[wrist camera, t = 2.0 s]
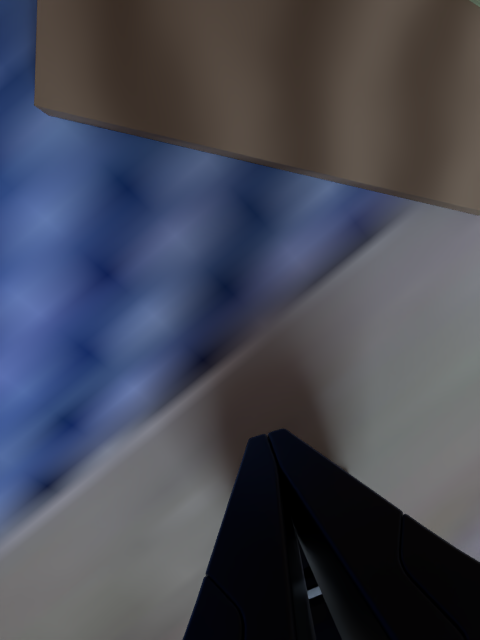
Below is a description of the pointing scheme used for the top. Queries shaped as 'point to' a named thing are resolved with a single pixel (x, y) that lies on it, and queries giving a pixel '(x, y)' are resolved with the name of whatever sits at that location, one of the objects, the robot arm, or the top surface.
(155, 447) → the top surface
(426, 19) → the brown flat board
